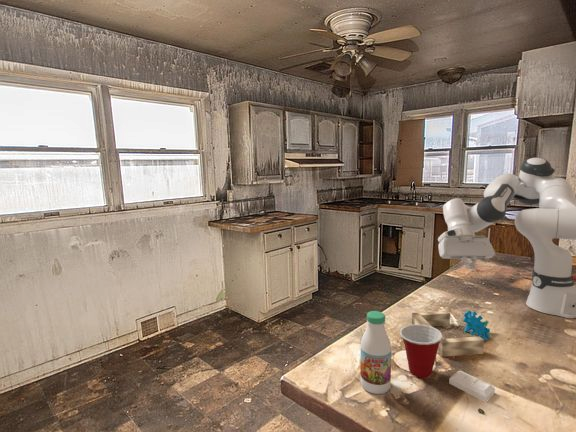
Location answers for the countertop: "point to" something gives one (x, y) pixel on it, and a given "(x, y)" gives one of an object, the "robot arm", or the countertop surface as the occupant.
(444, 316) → the carrier pocket
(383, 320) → the milk bottle
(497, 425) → the countertop surface
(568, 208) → the robot arm
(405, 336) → the plastic cup
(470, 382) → the soap bar
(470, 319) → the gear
